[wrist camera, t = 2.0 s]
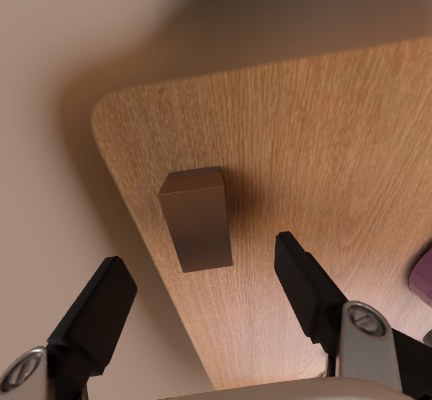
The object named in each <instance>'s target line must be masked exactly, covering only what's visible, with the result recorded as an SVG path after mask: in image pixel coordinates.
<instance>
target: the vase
mask: <svg viewBox="0 0 432 400" xmlns="http://www.w3.org/2000/svg"><path fill="white" fill-rule="evenodd" d="M424 343H425V344H426V345H427V346H429V347H431V348H432V330H431V331H430V332H429V333H428V334H427V335H426V336H425V337H424Z"/></svg>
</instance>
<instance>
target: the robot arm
mask: <svg viewBox="0 0 432 400" xmlns="http://www.w3.org/2000/svg"><path fill="white" fill-rule="evenodd" d="M274 269H275V272H276V274H277V276H278V279H279V281H280V283H281V285H282V287H283V289H284V291H285V294H286V296H287V298H288V300H289V302H290V304H291V306H292V308H293V311H294V313H295V315H296V317H297V319H298V321H299V323H300V325H301V328H302V330H303V332H304V334H305V335H306V336H307V337H310V339H311V341H312V343H313V344H316V343H320V344H321V346H322V348H323V349H324V351H325V352H326V353H327V354H326V364H325V373H324V377H319V378H309V379H301V380H292V381H284V382H276V383H269V384H262V385H255V386H248V387H241V388H234V389H227V390H220V391H213V392H207V393H200V394H193V395H186V396H180V397H173V398H166V399H159V400H432V348H431V347H429V346H427V345H425V344H423V343H421V342H419V341H417V340H415V339H413V338H411V337H409V336H407V335H405V334H403V333H401V332H399V331H397V330H395V329H393V328H391V326H390V324H389V323H388V321H387V320H386V318H385V317H384V316H383V315H382V314H381V313H380V312H378V311H377V310H376V309H374V308H373V307H371V306H369V305H367V304H365V303H363V302H360V301H348V299H347V298H346V297H345V296H344V294H343V293H342V292H341V291H340V289H339V288H338V287H337V286H336V284H335V283H334V282H333V281H332V279H331V278H330V277H329V276H328V274H327V273H326V272H325V271H324V269H323V268H322V267H321V266H320V264H319V263H318V262H317V261H316V259H315V258H314V257H313V256H312V255H311V254H310V253H309V252H305V251H304V249H303V248H302V247H301V245H300V244H299V243H298V241H297V240H296V239H295V238H294V236H293V235H292V234H291V232H289V231H287V232H280V233H279V234H278V235H277V236H276V243H275V261H274ZM136 293H137V286H136V284H135V282H134V280H133V278H132V276H131V275H130V273H129V271H128V269H127V267H126V265H125V264H124V262H123V260H122V259H121V258H119V257H118V256H114V257H107V258H105V260H104V261H103V262H102V264H101V265H100V266H99V268H98V269H97V271H96V272H95V274H94V275H93V276H92V278H91V279H90V281H89V282H88V283H87V285H86V286H85V288H84V289H83V290H82V292H81V293H80V295H79V296H78V297H77V299H76V300H75V302H74V303H73V304H72V306H71V307H70V309H69V310H68V311H67V313H66V314H65V316H64V317H63V318H62V320H61V321H60V323H59V324H58V326H57V327H56V328H55V330H54V331H53V333H52V334H51V336H50V337H49V338H48V340H47V342H48V345H47V346H46V347H43V346H38V347H35V348H32V349H31V350H29V351H27V352H25V353H24V354H23V355H21V356H20V357H19V358H18V359H16V360H15V361H14V362H13V363H12V364H11V365H10V366H9V367H8V368H7V369H6V371H5V372H4V373H3V374H2V375H1V377H0V400H88V392H87V385H86V383H87V381H88V379H89V377H92V376H99V375H102V374H103V372H104V369H105V367H106V366H107V365H108V364H109V362H110V360H111V358H112V355H113V352H114V350H115V347H116V345H117V342H118V340H119V337H120V334H121V332H122V329H123V327H124V324H125V322H126V319H127V316H128V314H129V311H130V309H131V306H132V304H133V301H134V298H135V295H136Z"/></svg>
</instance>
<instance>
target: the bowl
mask: <svg viewBox="0 0 432 400" xmlns="http://www.w3.org/2000/svg"><path fill="white" fill-rule="evenodd" d="M408 282H409V288H410V290H411V291H412V292H413V293H414V294H415V295H417V296H418V297H419V298H420V299H421V300H422V301H424V302H425V303H426V304H427V305H428V306H430V307H431V308H432V247H431V248H430V249H429V250H428V251H427V252H426V253H425V254H424V255H423V256H422V257H421V259H420V260H419V262H418V263H417V264H416V266H415V267H414V269H413V270H412V272H411V275H410V278H409V281H408Z"/></svg>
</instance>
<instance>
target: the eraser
mask: <svg viewBox="0 0 432 400" xmlns="http://www.w3.org/2000/svg"><path fill="white" fill-rule="evenodd" d="M157 196H158V199H159V202H160V205H161V208H162V211H163V214H164V217H165V220H166V223H167V226H168V229H169V232H170V235H171V238H172V241H173V244H174V247H175V250H176V253H177V256H178V259H179V262H180V265H181V268H182V271H183V273H186V272H193V271H200V270H207V269H214V268H220V267H227V266H233V261H232V252H231V242H230V233H229V224H228V214H227V205H226V196H225V186H224V183H223V179H222V176H221V173H220V169H219V166H215V167H208V168H201V169H194V170H187V171H180V172H173V173H169V175H168V176H167V178H166V180H165V182H164V184H163V186H162V187H161V189H160V191H159V193H158V194H157Z"/></svg>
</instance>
